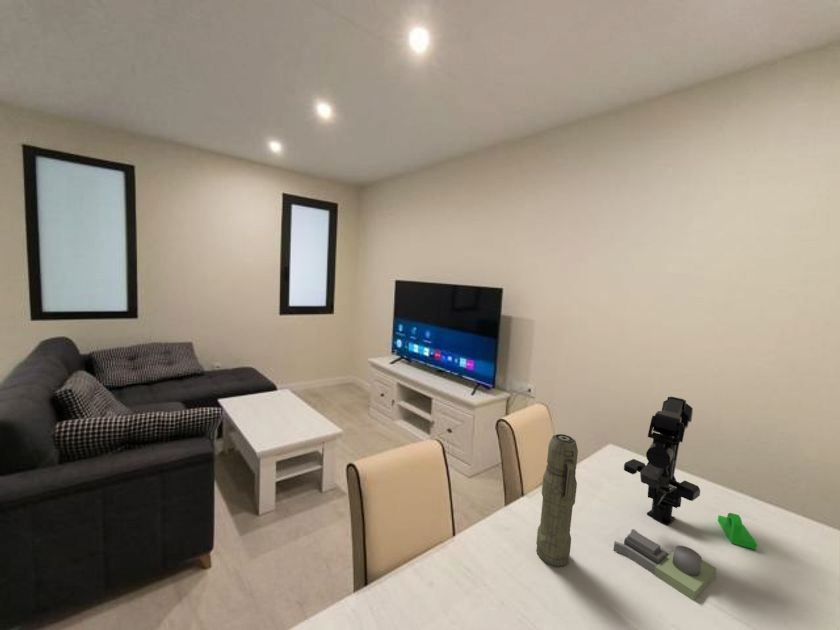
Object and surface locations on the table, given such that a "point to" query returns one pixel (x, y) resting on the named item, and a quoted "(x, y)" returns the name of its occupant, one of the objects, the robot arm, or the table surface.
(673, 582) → the green block with prongs
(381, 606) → the table surface
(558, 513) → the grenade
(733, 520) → the mechanical part
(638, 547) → the two tier gray step
